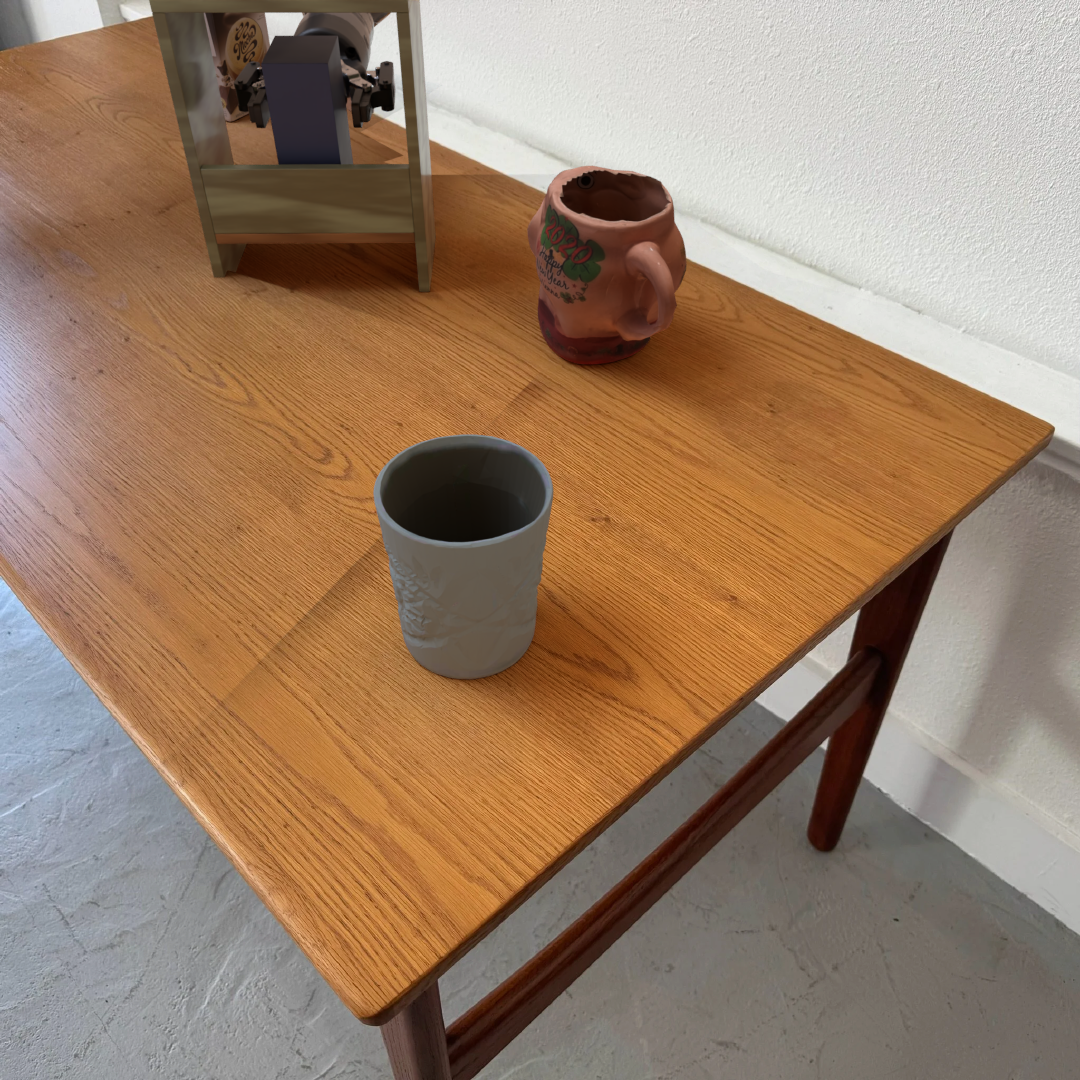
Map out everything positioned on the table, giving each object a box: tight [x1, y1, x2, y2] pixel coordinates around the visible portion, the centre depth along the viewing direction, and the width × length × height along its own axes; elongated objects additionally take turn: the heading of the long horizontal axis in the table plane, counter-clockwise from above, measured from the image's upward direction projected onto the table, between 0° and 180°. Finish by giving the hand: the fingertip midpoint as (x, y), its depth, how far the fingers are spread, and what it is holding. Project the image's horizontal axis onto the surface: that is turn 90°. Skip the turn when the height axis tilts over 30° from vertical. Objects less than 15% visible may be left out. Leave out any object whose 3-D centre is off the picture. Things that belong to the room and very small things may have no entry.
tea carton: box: [261, 35, 354, 164], centre depth 92 cm, size 6×7×14 cm
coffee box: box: [204, 13, 271, 122], centre depth 125 cm, size 9×6×16 cm
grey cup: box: [373, 433, 554, 680], centre depth 63 cm, size 10×10×12 cm
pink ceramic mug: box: [526, 165, 687, 365], centre depth 86 cm, size 20×12×14 cm, turn 30°
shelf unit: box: [148, 0, 437, 293], centre depth 92 cm, size 11×20×26 cm, turn 91°
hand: (307, 117), depth 90 cm, fingers open, 8 cm apart
